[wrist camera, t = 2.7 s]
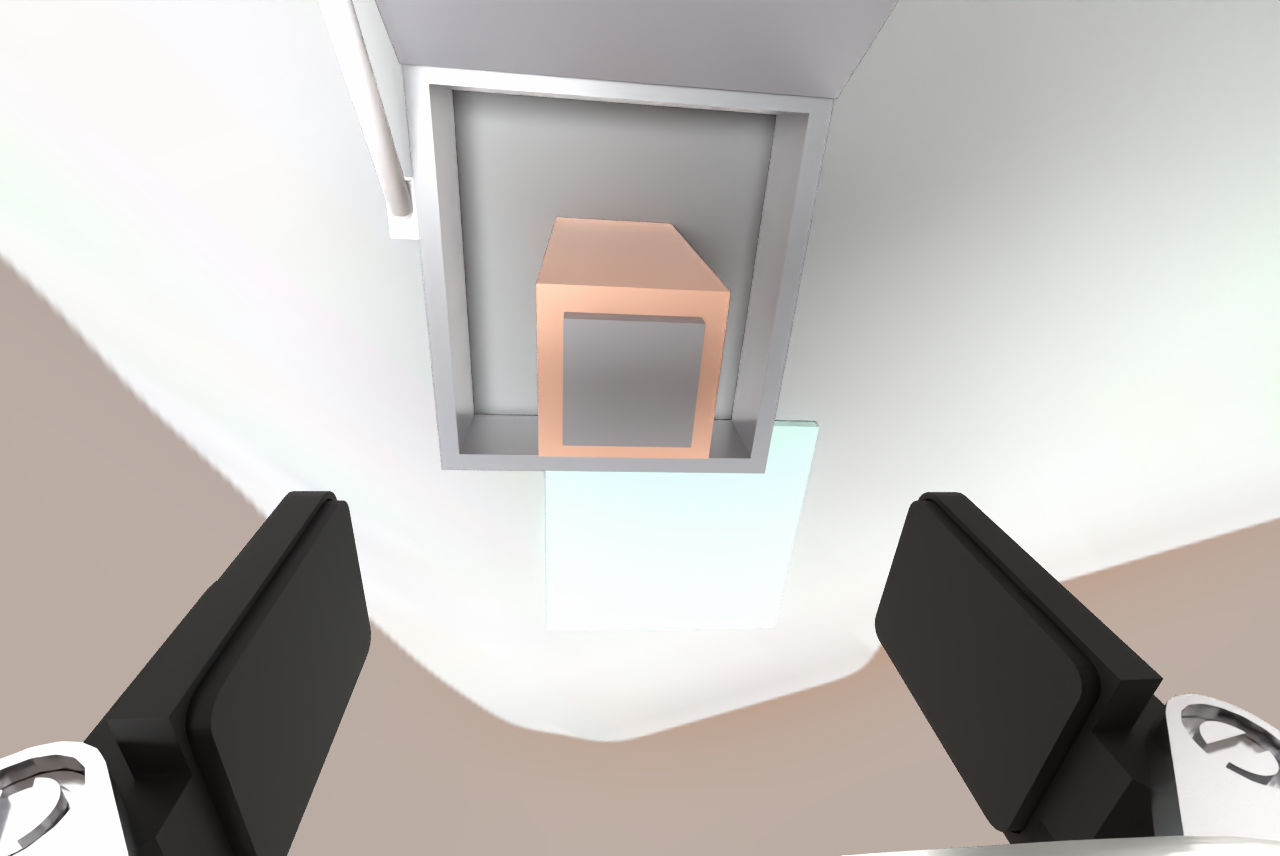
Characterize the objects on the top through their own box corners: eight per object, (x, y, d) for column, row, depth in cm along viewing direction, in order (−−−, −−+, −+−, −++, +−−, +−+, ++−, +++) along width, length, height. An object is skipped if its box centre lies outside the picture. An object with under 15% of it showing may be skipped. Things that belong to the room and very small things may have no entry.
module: (670, 223, 26) (736, 298, 15) (661, 333, 28) (712, 469, 17) (556, 216, 26) (534, 289, 14) (555, 329, 28) (537, 466, 17)
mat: (815, 421, 31) (819, 427, 31) (771, 620, 38) (774, 627, 37) (545, 415, 30) (545, 421, 29) (547, 623, 36) (546, 631, 36)
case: (850, -222, 20) (1667, -1284, 5) (744, 433, 31) (894, 724, 16) (367, -289, 18) (-626, -2180, 3) (438, 428, 30) (286, 744, 14)
